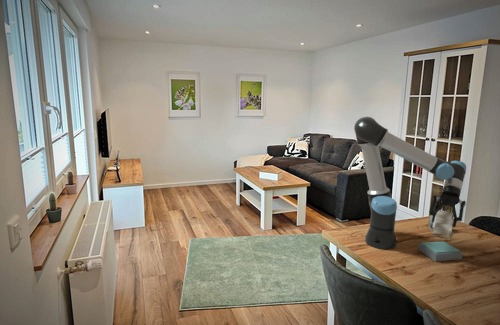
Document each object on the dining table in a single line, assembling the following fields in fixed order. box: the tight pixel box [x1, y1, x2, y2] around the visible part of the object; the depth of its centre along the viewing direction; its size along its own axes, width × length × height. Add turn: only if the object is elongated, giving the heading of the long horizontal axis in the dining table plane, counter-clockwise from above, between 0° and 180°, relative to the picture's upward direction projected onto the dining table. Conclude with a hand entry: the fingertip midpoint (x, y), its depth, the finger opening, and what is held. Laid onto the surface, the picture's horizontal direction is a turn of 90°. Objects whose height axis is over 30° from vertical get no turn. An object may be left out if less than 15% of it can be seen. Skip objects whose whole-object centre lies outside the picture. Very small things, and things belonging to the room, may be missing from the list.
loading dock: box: [417, 240, 464, 262], centre depth 157 cm, size 14×12×4 cm
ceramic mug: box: [427, 214, 433, 232], centre depth 188 cm, size 11×8×8 cm
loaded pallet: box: [430, 209, 455, 241], centre depth 155 cm, size 8×8×11 cm
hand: (441, 230), depth 152 cm, fingers closed on loaded pallet, 6 cm apart
